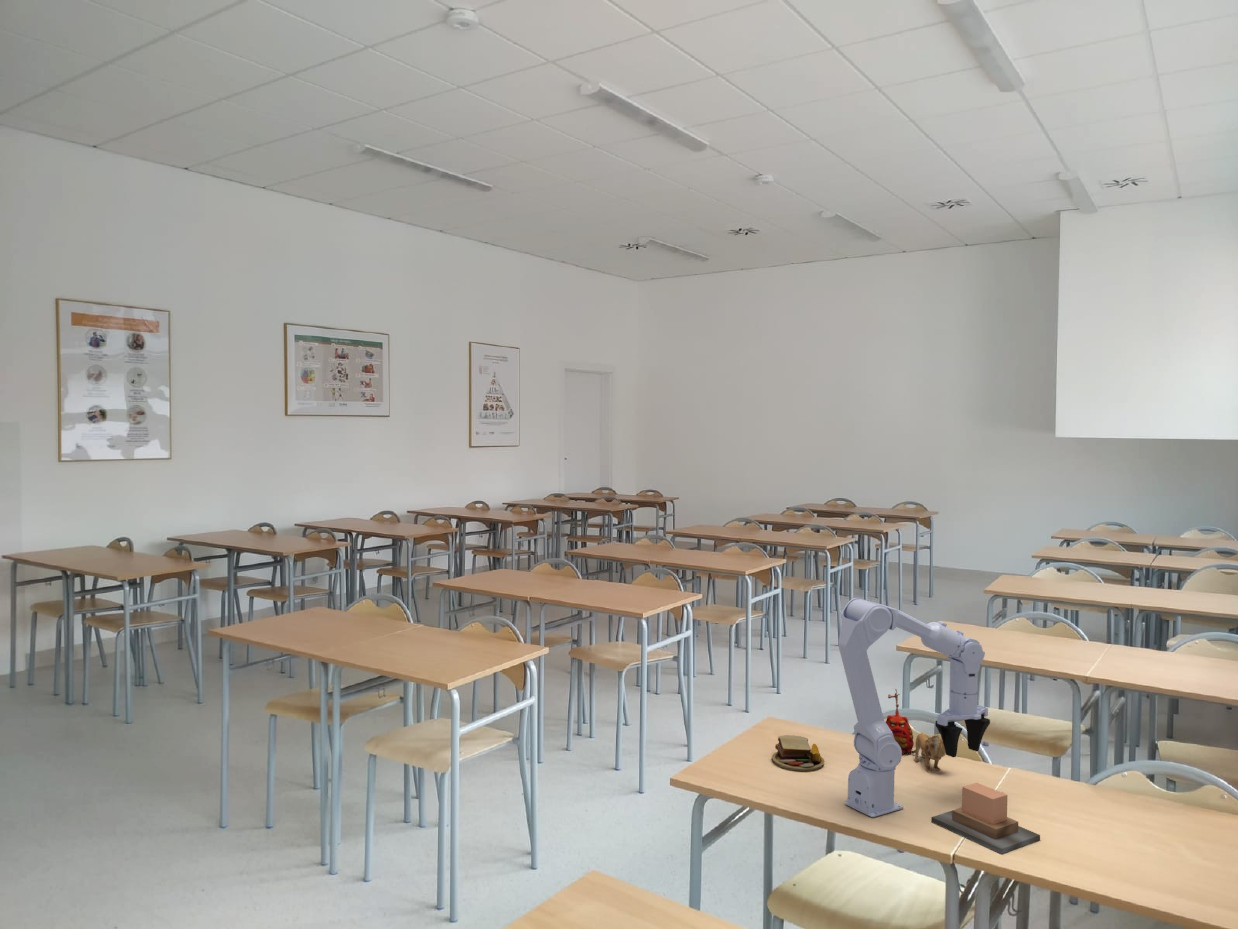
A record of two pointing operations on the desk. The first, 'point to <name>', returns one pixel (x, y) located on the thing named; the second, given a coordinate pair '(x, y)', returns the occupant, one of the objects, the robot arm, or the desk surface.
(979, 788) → the terracotta brick
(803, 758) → the toy sandwich meal
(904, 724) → the red clay folk toy
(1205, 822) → the desk surface
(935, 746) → the lion figurine
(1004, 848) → the tower base
